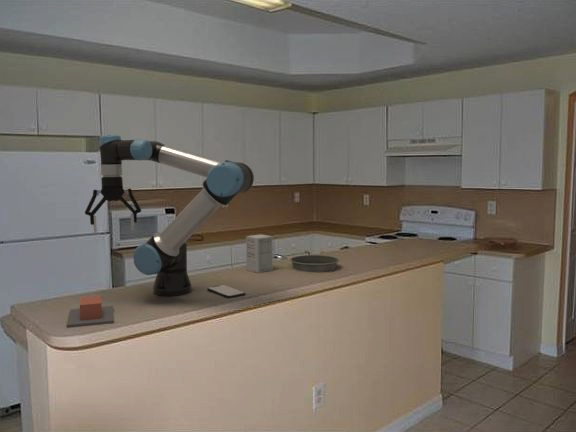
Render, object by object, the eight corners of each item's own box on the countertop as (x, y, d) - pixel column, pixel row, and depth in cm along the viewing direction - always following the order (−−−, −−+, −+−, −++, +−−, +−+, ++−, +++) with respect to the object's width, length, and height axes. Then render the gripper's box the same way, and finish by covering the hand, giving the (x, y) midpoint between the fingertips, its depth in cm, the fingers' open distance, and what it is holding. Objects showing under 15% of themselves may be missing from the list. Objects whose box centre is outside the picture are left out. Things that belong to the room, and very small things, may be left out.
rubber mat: (112, 307, 180) (112, 305, 180) (113, 322, 164) (113, 320, 164) (70, 311, 176) (70, 309, 176) (66, 327, 159) (66, 325, 159)
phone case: (246, 296, 200) (224, 288, 212) (246, 292, 199) (224, 284, 211) (228, 300, 194) (205, 291, 206) (228, 296, 194) (205, 287, 206)
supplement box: (261, 267, 252) (261, 234, 250) (273, 270, 245) (273, 236, 244) (245, 270, 246) (245, 235, 244) (257, 273, 239) (257, 238, 237)
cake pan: (316, 261, 270) (316, 253, 270) (349, 269, 251) (349, 260, 251) (279, 267, 255) (279, 258, 255) (312, 275, 236) (312, 266, 236)
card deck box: (101, 318, 166) (101, 303, 165) (80, 320, 164) (79, 305, 163) (101, 309, 175) (101, 295, 175) (81, 311, 173) (80, 297, 173)
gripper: (144, 175, 200) (146, 228, 202) (75, 176, 189) (78, 233, 191) (147, 175, 193) (149, 231, 195) (76, 177, 182) (79, 235, 185)
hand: (114, 232), depth 193 cm, fingers open, 13 cm apart
